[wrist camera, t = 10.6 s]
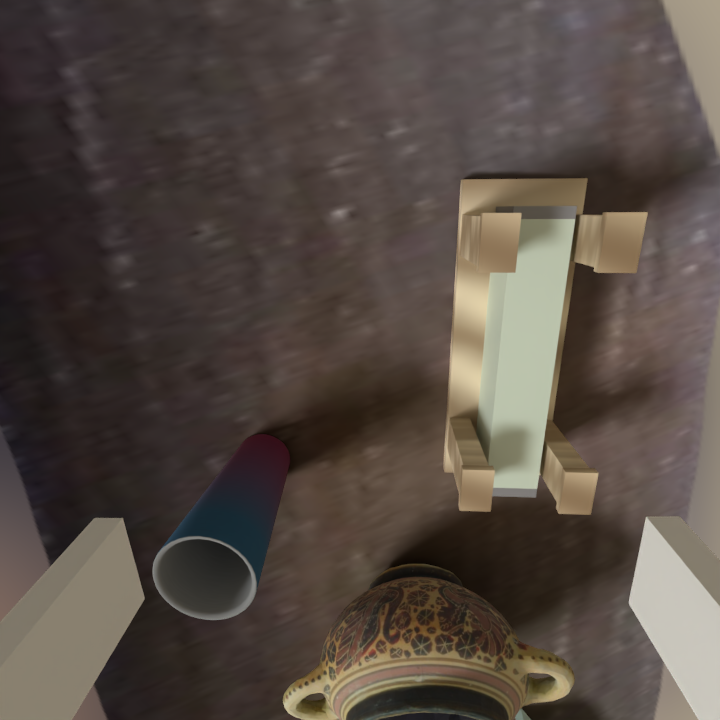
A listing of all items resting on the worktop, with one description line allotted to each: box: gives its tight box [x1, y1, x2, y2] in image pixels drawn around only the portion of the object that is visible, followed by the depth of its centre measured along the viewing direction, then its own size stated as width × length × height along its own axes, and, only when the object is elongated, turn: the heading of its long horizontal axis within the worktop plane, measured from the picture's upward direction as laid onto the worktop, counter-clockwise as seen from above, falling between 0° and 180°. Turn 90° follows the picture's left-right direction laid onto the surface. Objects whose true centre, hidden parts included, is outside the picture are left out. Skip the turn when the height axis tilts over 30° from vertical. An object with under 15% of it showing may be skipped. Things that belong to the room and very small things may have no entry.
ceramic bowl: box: [283, 564, 575, 720], centre depth 40 cm, size 24×18×15 cm
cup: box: [153, 434, 290, 620], centre depth 36 cm, size 7×7×15 cm
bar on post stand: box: [443, 178, 648, 515], centre depth 33 cm, size 25×9×10 cm, turn 0°
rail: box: [476, 206, 577, 498], centre depth 35 cm, size 22×4×5 cm, turn 0°
